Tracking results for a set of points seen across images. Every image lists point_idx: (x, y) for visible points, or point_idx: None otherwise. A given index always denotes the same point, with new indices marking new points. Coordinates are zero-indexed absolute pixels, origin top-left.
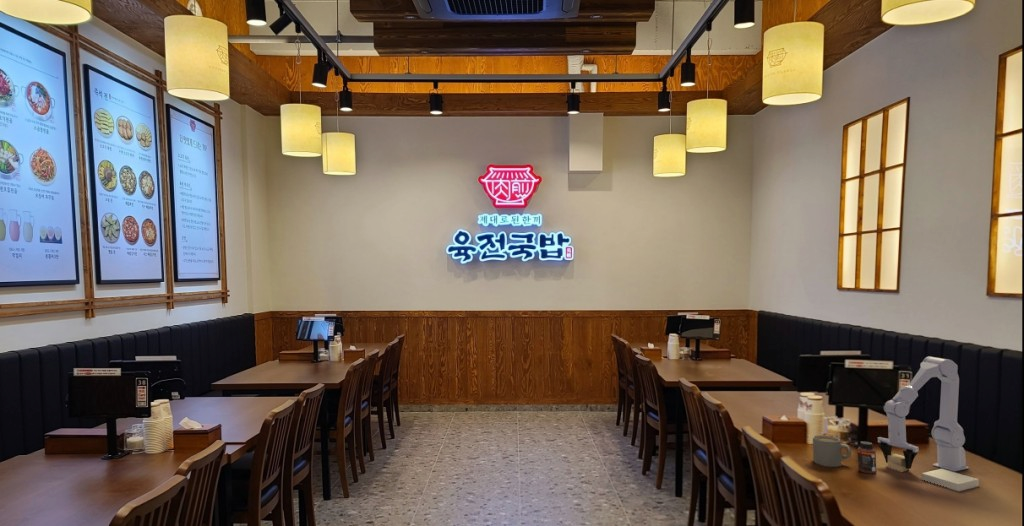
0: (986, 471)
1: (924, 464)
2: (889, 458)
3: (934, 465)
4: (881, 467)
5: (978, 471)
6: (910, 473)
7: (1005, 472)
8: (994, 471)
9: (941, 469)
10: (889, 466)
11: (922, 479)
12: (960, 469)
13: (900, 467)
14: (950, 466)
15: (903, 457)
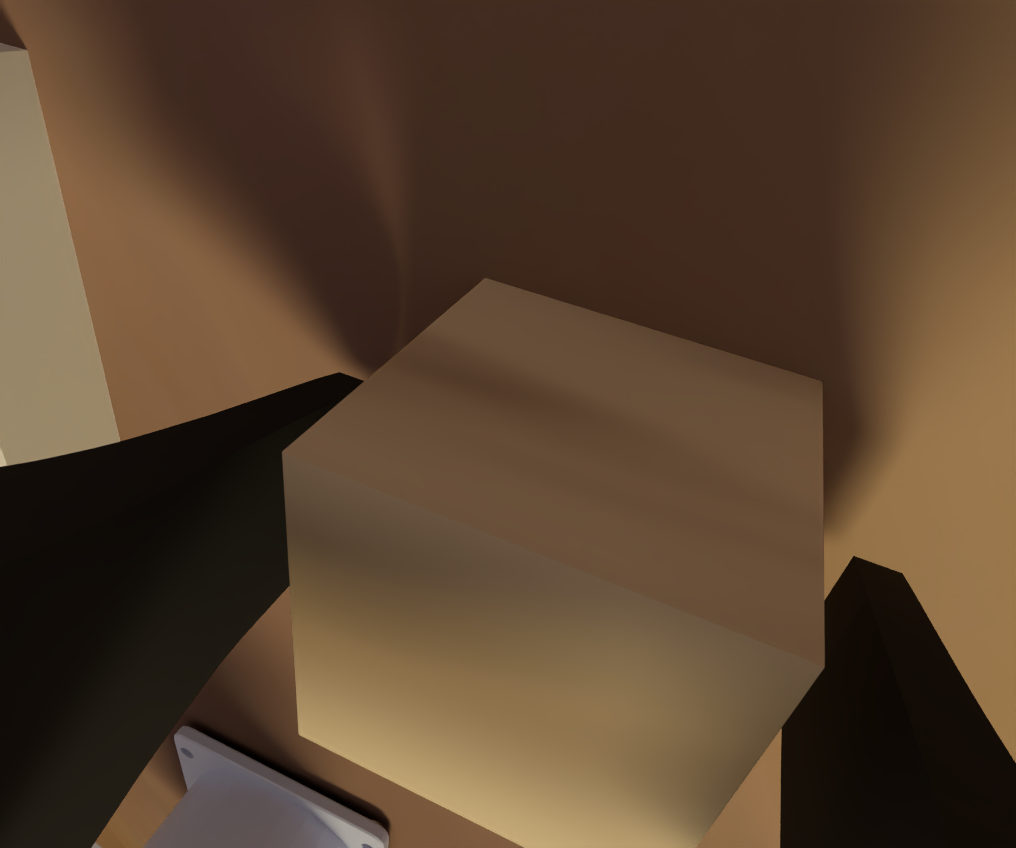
0: (140, 819)
1: (461, 837)
2: (740, 552)
3: (361, 820)
4: (1009, 278)
5: (152, 802)
6: (339, 320)
7: (102, 835)
8: (130, 834)
9: None
10: (773, 392)
11: (8, 46)
12: (186, 783)
13: (445, 324)
14: (205, 796)
15: (362, 694)
